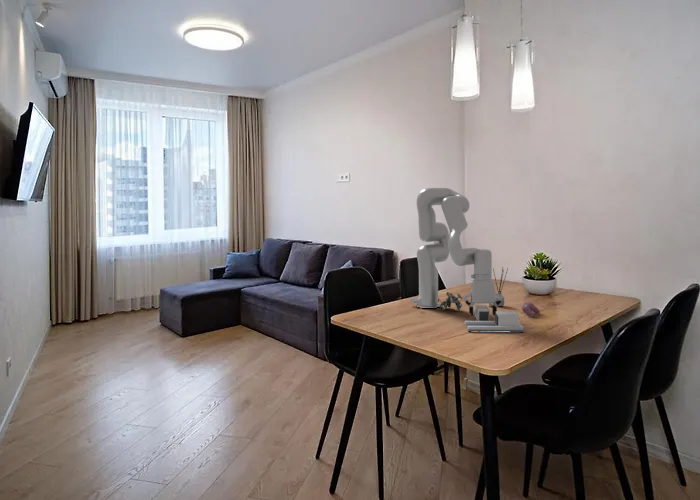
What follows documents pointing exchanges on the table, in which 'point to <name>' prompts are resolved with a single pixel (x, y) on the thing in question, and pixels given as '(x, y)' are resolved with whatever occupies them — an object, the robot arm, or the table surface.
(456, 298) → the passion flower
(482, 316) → the block
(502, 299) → the reed diffuser
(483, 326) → the rail dock
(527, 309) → the video game controller
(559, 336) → the table surface
